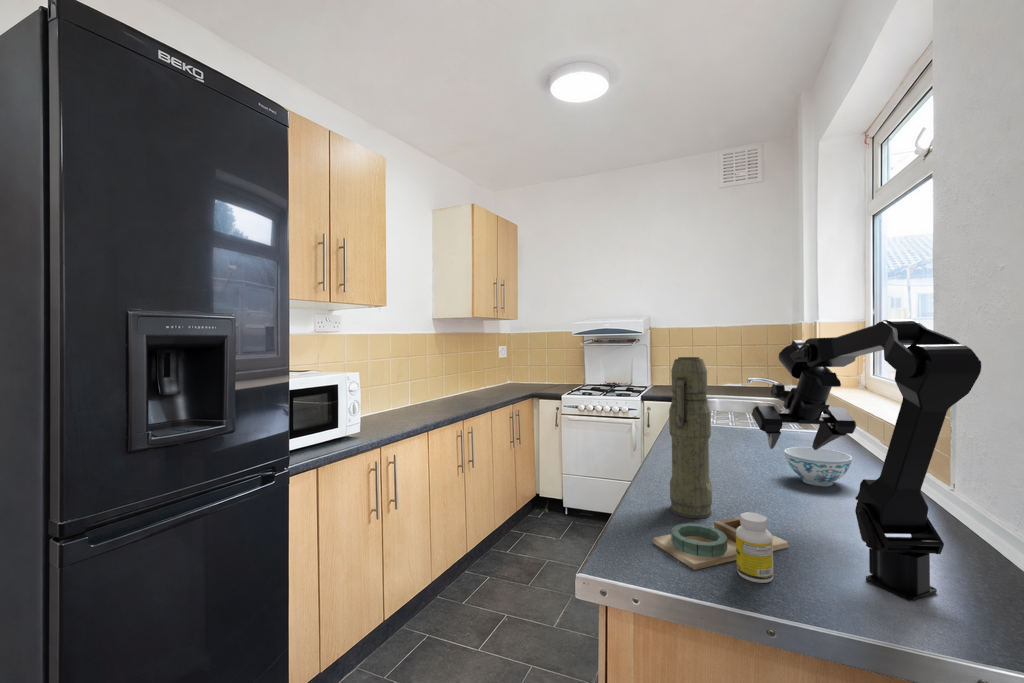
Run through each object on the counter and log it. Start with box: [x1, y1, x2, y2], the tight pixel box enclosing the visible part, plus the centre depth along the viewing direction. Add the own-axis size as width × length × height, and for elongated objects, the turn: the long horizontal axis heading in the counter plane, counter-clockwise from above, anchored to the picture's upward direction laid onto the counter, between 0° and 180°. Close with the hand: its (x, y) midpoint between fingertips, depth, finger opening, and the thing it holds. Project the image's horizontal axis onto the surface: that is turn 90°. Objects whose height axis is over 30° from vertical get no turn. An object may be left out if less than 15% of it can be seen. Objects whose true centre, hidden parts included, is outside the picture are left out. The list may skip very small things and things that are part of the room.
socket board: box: [652, 516, 789, 571], centre depth 86 cm, size 11×22×3 cm, turn 110°
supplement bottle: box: [736, 511, 774, 584], centre depth 75 cm, size 5×5×10 cm
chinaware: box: [784, 446, 853, 487], centre depth 121 cm, size 15×15×8 cm
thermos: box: [668, 356, 713, 519], centre depth 103 cm, size 9×12×35 cm
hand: (792, 448), depth 102 cm, fingers open, 9 cm apart
